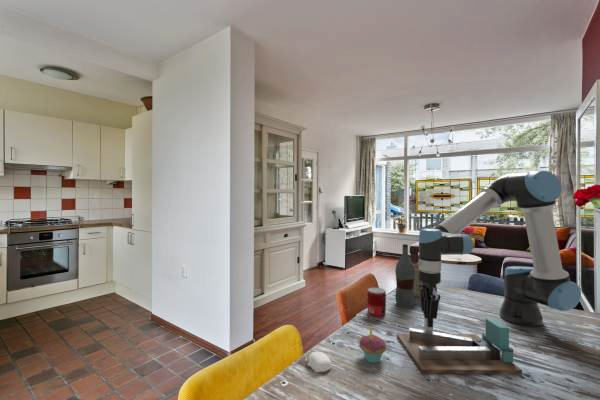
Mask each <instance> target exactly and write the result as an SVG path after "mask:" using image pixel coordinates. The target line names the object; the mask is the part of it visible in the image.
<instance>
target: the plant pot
mask: <svg viewBox="0 0 600 400" xmlns="http://www.w3.org/2000/svg"><path fill="white" fill-rule="evenodd" d="M413 264H414V268H415V277H414V294H415V298H416V297H417V298H420V299H421V296H420V288H419V285H422V282H421V281H419V279H418V272H419V270H420V269H419V264H418V263H413Z"/></svg>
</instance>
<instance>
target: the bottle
mask: <svg viewBox="0 0 600 400" xmlns="http://www.w3.org/2000/svg"><path fill="white" fill-rule="evenodd" d="M414 264H415V263H413V262H412V260H411V258H410V256H409V244H405V243H403V244H402V254H401V256H400V258H399V260H398V261H397V262H396V266H395V271H394V272H395V282H396V288H395V296H394V297H395V303H396V306H398V307H401V308H405V309H410V308H411V309H412V308H414V306H415V302H416V301H415V300H416V296H415V294H414V277H415V268H414Z"/></svg>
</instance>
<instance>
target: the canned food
mask: <svg viewBox="0 0 600 400" xmlns="http://www.w3.org/2000/svg"><path fill="white" fill-rule="evenodd" d="M386 301H387V295H386V290H385V289H384V288H380V287H369V288H368V289H367V313H368V315H370V316H372V317H375V318H376V317H377V318H378V317H379V318H382V317H384V316H386V313H387V312H386V311H387V307H386V305H387V304H386V303H387V302H386Z"/></svg>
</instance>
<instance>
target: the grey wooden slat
mask: <svg viewBox="0 0 600 400" xmlns="http://www.w3.org/2000/svg"><path fill="white" fill-rule="evenodd" d="M409 334H410V339H415V340H420V341H426V342H431V343H437V344H442V345H448V346H466V347H472V339H471V338H468V337H462V336H456V335H450V334H451V333H443V332H438V331H437V332H436V331H433V332H432V331H426V330H424V329H421V328H420V329H419V328H415V327H414V328H413V327H409Z"/></svg>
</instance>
